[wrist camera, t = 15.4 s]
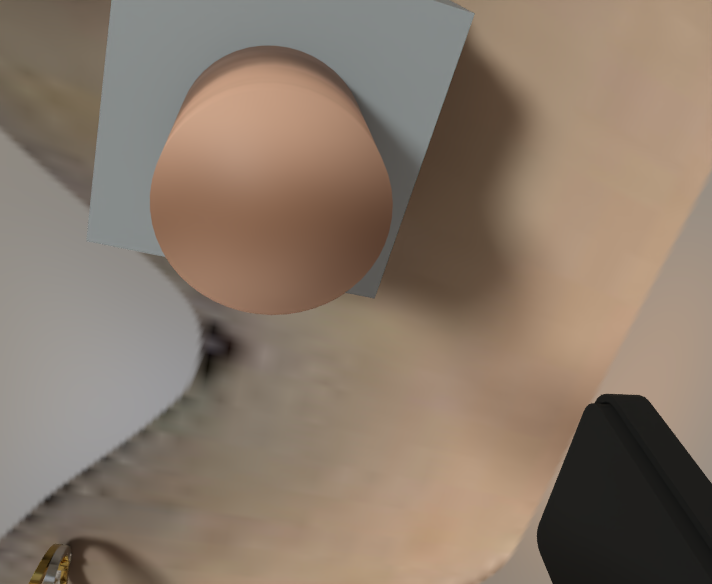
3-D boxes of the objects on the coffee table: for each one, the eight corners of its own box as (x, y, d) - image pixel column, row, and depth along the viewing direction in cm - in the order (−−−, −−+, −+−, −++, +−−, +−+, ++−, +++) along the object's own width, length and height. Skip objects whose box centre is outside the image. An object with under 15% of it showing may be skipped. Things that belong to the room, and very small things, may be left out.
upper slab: (145, -98, 22) (121, -99, 19) (446, -2, 25) (474, 13, 21) (110, 199, 27) (86, 241, 24) (362, 253, 30) (374, 298, 26)
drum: (186, 26, 20) (159, 67, 15) (383, 67, 22) (419, 117, 17) (170, 212, 23) (142, 299, 18) (343, 238, 25) (363, 326, 20)
